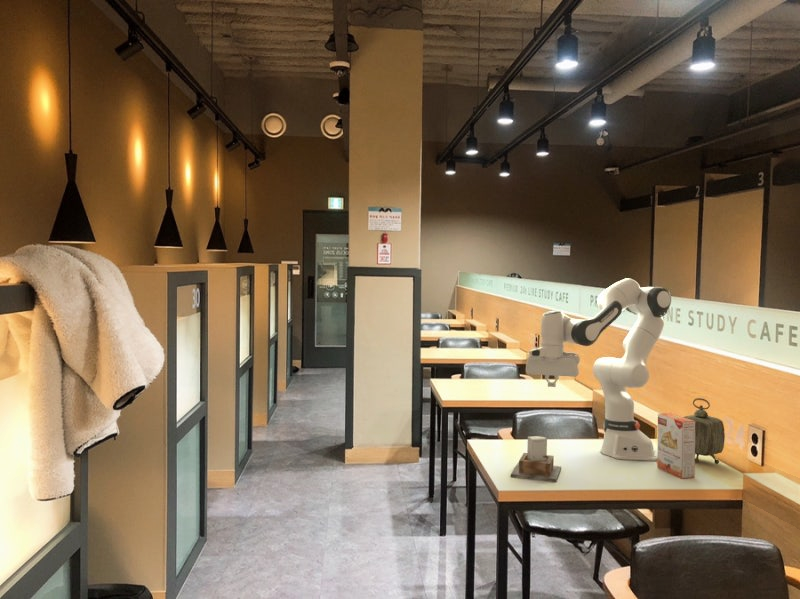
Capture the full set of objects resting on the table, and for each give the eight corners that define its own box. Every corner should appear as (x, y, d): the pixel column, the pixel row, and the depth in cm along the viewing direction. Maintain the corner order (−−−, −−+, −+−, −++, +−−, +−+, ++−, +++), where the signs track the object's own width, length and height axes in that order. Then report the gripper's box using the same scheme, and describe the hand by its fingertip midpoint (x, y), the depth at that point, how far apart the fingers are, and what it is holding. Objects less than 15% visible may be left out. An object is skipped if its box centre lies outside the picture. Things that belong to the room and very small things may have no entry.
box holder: (561, 469, 231) (561, 454, 231) (556, 482, 216) (556, 466, 216) (518, 464, 236) (518, 450, 236) (510, 476, 221) (510, 461, 221)
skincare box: (531, 472, 223) (532, 439, 223) (526, 468, 228) (526, 436, 227) (547, 471, 225) (547, 438, 224) (541, 467, 229) (542, 435, 229)
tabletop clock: (724, 464, 237) (725, 400, 237) (710, 468, 233) (711, 402, 232) (689, 455, 250) (690, 394, 249) (675, 458, 245) (676, 396, 245)
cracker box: (656, 467, 233) (657, 413, 233) (669, 466, 235) (670, 412, 234) (680, 479, 220) (681, 421, 219) (695, 478, 221) (696, 420, 220)
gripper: (580, 352, 241) (579, 387, 241) (527, 349, 248) (527, 383, 248) (578, 353, 235) (578, 389, 235) (525, 351, 242) (524, 386, 243)
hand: (551, 386), depth 242 cm, fingers closed
